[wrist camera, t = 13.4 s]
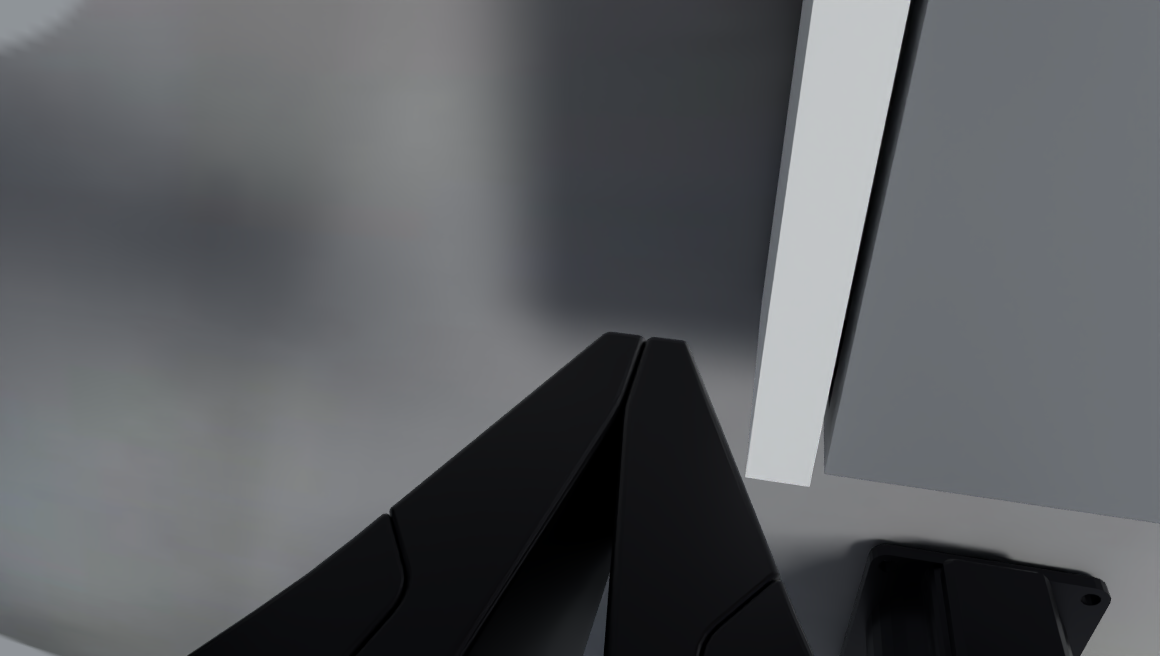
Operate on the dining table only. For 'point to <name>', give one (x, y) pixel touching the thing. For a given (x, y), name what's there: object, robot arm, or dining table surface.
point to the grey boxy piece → (820, 220)
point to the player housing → (1013, 263)
